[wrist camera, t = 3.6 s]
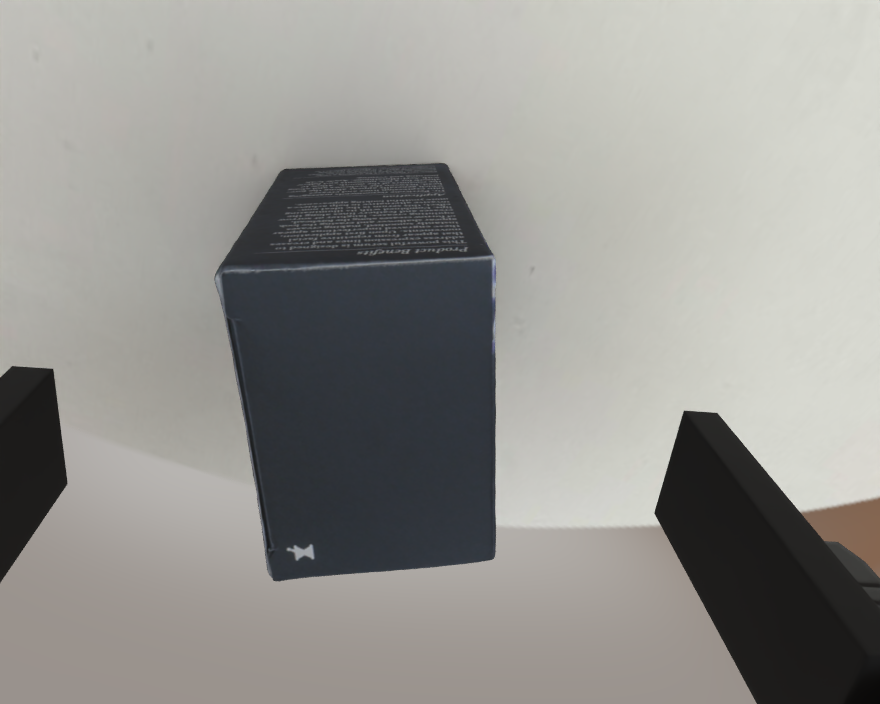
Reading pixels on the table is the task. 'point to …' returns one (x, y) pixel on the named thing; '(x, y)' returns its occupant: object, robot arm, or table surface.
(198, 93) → the table surface
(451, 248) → the box
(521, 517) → the table surface
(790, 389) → the table surface
